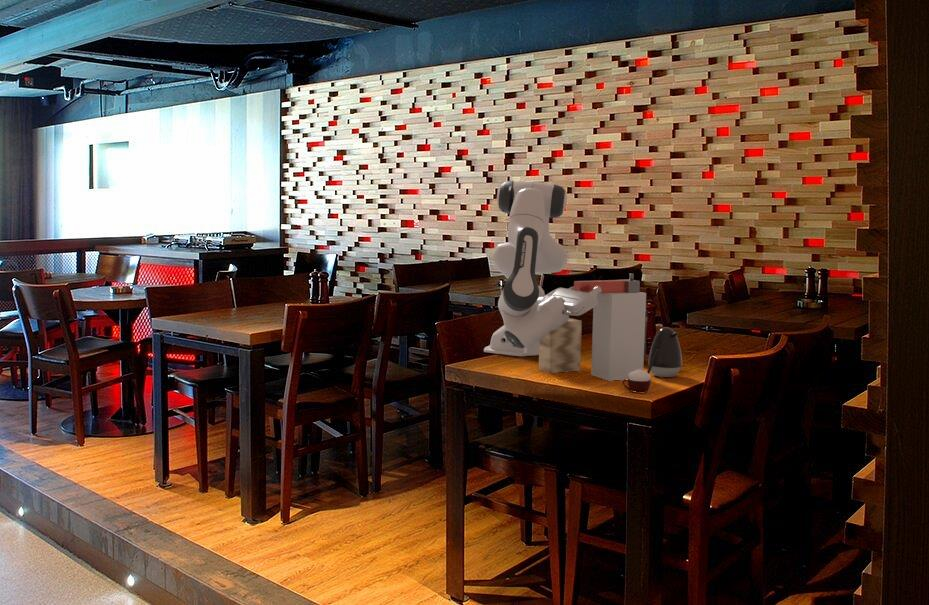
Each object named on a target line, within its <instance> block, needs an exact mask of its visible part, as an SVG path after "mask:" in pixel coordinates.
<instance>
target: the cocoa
mask: <svg viewBox="0 0 929 605" xmlns="http://www.w3.org/2000/svg"><path fill="white" fill-rule="evenodd" d="M657 354H658V349H657V350H656V352H655V354H654V356H653V359H652V361H651V364H650V366H649V365H648V368H647V371H646V370H644V369H643V370H641V369H637V370H635V371H632V372H630V373H628V380H626V379H625V380H622V385H623V386H624V387H625V388H626V389H627V390H629V391H631V390H632V391H636V392H645V391H646V392H648V391H649V389H650V387H651V383H652V382H651V377H652V375H651V368H652V366H653V363H654V361H655V359H656V356H657ZM625 382H627V384H628V386H627V385H626V384H625ZM632 391H631V392H632ZM646 392H645V393H646Z"/></svg>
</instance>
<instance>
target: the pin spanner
mask: <svg viewBox="0 0 929 605" xmlns="http://www.w3.org/2000/svg"><path fill="white" fill-rule="evenodd" d="M640 284H641V281H640V280H636V279H634V273H629V279H626V278H625V279H608V280H605V279H604V280H601V279H600V280H599V279H598V280H574V281H573V286H574V290H577V291H582V292H587V293H589V292H591V291H592V290H593V288H594V287H596V286H599V287H600V288H601V290H602V291H601V292H600V293H640V292H641V290H640V289H641V285H640Z"/></svg>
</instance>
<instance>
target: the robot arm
mask: <svg viewBox="0 0 929 605" xmlns="http://www.w3.org/2000/svg"><path fill="white" fill-rule="evenodd" d="M496 202H497V205H498V209H499V210H500V211H501V212H503V213H505V214H508V215H509V217H508V223H507V241H506V242H502V243H498V244H497V245H496V246H495V248H494V250H493V253H492V262H493V266H494V267H495V269H497V271H498V272H500V273H501V274H503V277H505V278H506V281H505V283H504V285H503V289H502V291H501V293H500V296H499V298H498V300H497V308H498V311H499V313H500V315H501V318H502V320H503V325H502V326H501V327H499V328H498V329H497V330H496V331H494V332H493V334H492V336H491V339H490V344H489V345H488V346H485V347H484V348H483V352H484V353H491V354H496V355H497V354H498V355H506V356H514V357H515V356H516V357H527V356H530V357H531V356H539V340H541V339H542V338H544V337H545V336H546V335H547V334H548V333H549V332H550V331H553V330H555V329H557V328H558V327H560V326H561V325H563V324H564V323H566V322H567V321H568V320H569V318H570V316H576V317H579V316H582V315H584V314H585V313H587V312H589V311H590V310H592V309H593V308H594V307H595V306H596V305H597V304H598V302H597V299H596V296H597V295H598V294H599V293H600V292H601V291H602V290H601V288H600V287H599V286H596V287H594V288H593V290H592V291H591V292H589V293H587V292H582V291H577V290H574V285H573V286H570V287H569V288H566V287H565V288H564V287H558V288H556V289H553V290H552V291H550V292H548V293H547V294H545V290H544V289H543V288H542V287H541V286H539V284H538V281H537V277H536V274H554V273H558V272H561V271H563V270H564V268H565V267H566V264H567V262H568V254H567V251H566V248H564V246H563V245H562V244H560V243H559V242H557V241H556V240H555V239H554V238H553V237H552V235H551V233H550V219H556V218H557V219H558V218H560V217H561V216H562V215H564V214H563V213H564V211H565V210H566V208H567V205H568V196H567V193H566V190H565V188H564V187H563V186H562V185H558V184H551V183H544V182H539V181H514V180H507V181H504V182H503V183H502V184H500V187H499V189H498V191H497V195H496Z"/></svg>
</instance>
